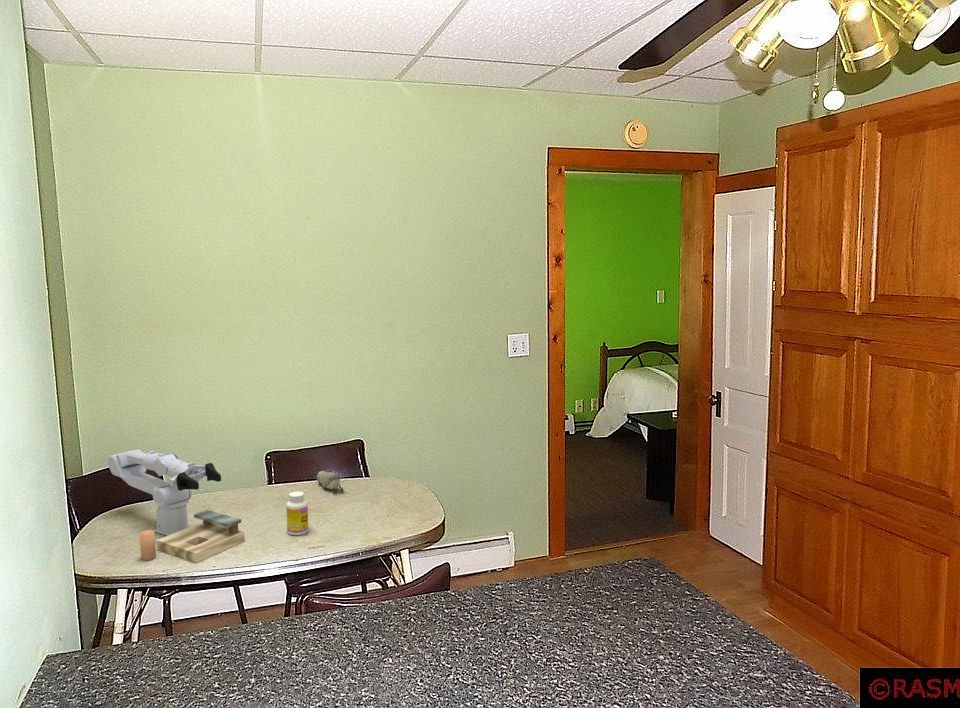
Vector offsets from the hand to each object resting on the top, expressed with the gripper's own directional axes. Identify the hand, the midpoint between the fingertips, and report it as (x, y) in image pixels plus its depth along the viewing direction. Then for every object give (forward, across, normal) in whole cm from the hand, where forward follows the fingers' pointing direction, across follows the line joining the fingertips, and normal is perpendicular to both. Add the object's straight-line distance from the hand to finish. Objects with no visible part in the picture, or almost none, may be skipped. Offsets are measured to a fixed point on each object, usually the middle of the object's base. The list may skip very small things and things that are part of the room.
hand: (209, 482), depth 224 cm
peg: (-7, -17, +20) cm, 28 cm away
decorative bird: (-9, +56, +24) cm, 61 cm away
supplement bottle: (+14, +22, +21) cm, 33 cm away
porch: (-2, -3, +21) cm, 21 cm away
